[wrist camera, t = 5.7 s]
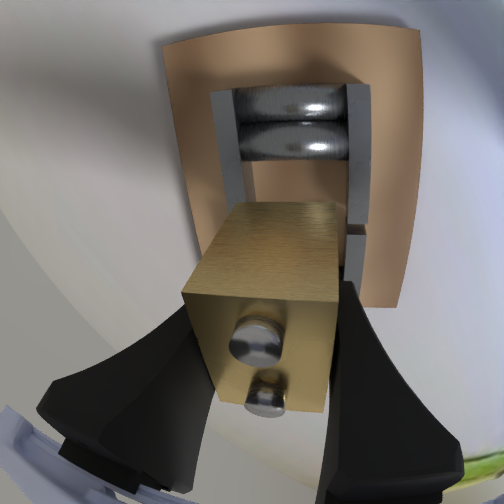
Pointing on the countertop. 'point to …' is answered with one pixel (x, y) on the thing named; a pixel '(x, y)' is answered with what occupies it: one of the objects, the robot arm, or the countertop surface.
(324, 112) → the chain end
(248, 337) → the brass block with studs
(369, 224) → the chain board
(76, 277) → the countertop surface
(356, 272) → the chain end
